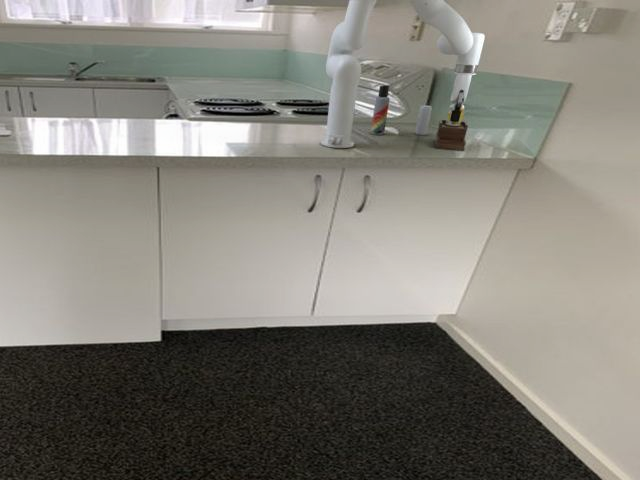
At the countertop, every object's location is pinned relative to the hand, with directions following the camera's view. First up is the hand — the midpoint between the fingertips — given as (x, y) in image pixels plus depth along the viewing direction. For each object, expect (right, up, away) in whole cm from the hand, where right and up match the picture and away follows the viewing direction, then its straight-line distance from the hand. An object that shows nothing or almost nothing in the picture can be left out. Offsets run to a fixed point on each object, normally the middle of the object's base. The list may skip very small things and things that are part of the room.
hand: (453, 119), depth 165 cm
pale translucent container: (-5, 0, +21) cm, 22 cm away
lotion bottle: (-25, 0, +20) cm, 31 cm away
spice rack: (-1, -10, +2) cm, 10 cm away
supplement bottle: (0, -2, +1) cm, 2 cm away
